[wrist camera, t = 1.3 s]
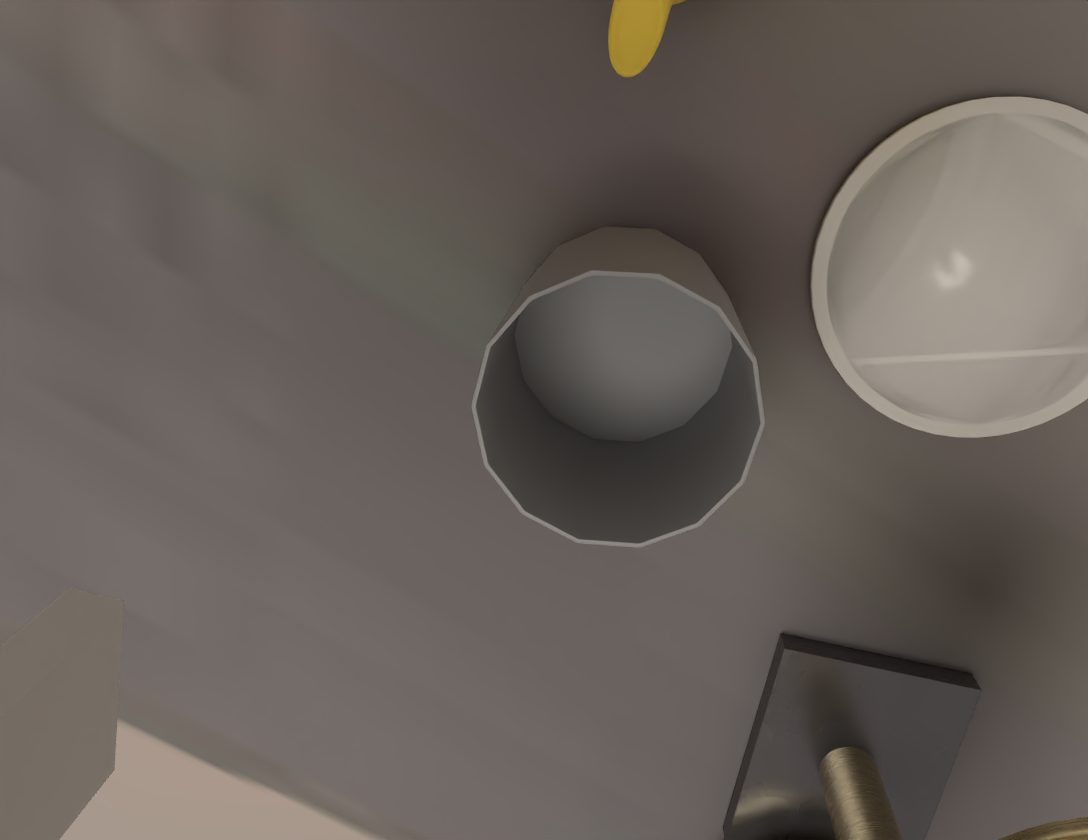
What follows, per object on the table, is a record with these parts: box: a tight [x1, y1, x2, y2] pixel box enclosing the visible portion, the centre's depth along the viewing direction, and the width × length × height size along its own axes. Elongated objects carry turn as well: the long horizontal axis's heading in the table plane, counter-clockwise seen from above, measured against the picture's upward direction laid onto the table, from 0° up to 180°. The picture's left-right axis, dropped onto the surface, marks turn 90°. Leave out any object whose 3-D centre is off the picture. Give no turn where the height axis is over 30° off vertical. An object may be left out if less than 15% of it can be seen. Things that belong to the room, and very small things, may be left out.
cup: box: [471, 226, 765, 547], centre depth 33 cm, size 8×8×10 cm
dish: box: [810, 97, 1088, 438], centre depth 35 cm, size 12×12×1 cm
